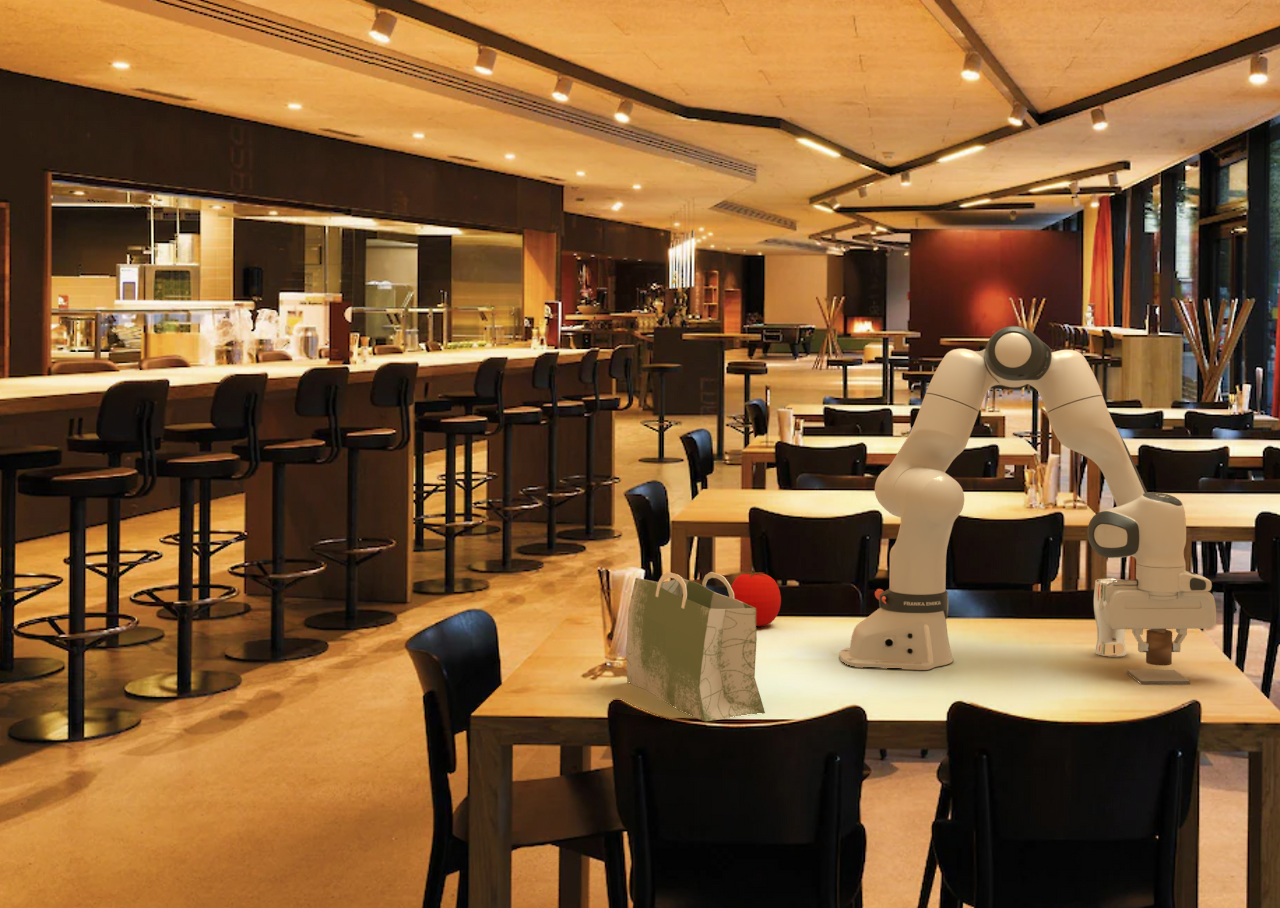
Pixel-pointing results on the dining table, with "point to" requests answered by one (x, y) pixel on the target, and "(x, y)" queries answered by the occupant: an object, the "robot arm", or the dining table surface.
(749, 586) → the tomato
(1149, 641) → the pepper mill
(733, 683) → the grocery bag
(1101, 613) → the beer glass
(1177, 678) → the coaster
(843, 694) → the dining table surface
